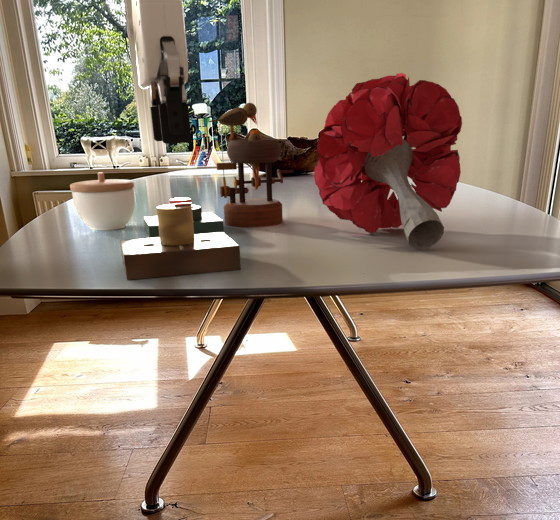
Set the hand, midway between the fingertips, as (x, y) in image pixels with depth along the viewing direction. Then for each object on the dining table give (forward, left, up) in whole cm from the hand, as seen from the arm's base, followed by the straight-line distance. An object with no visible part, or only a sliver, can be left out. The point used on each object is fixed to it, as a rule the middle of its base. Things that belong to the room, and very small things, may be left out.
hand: (171, 141), depth 71 cm
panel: (0, 0, -15) cm, 15 cm away
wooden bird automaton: (+18, +29, -15) cm, 37 cm away
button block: (+4, +25, -15) cm, 30 cm away
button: (+4, +25, -11) cm, 28 cm away
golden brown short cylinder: (0, 0, -12) cm, 12 cm away
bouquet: (+34, +9, -15) cm, 38 cm away
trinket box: (-8, +35, -15) cm, 39 cm away
